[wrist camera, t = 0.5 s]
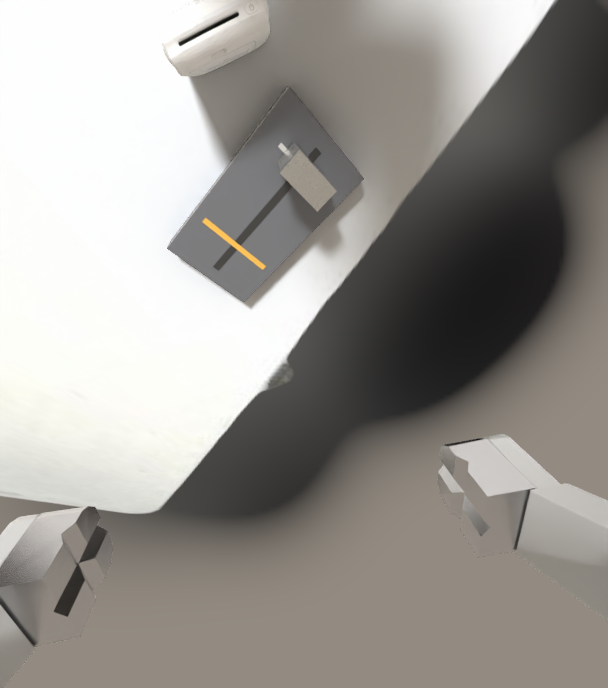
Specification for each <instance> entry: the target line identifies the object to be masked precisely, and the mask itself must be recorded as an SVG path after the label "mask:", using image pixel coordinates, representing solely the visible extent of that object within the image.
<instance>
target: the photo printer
mask: <svg viewBox="0 0 608 688" xmlns="http://www.w3.org/2000/svg"><path fill="white" fill-rule="evenodd" d="M269 19H270V13H269V7H268V4H267V1H266V0H195V1H193V2H191V3H190V4H188V5H186V6H185V7H183V8H181V9H180V10H178V11H177V12H175V13H174V14H172V15H171V16H169V17H168V18H167V19H166V20H165V21H164V22H163V23H162V24H161V25H160V26H159V28H158V31H159V35H160V38H161V40H162V46H163V49H164V52H165V55H166V57H167V58H168V60H169V61H170V63H171V64H172V65H173V66H174V67H175V68H176V70H177V71H178V73H179V74H180V75H181V76H199V75H203V74H206V73H209V72H211V71H213V70H215V69H217V68H220V67H222V66H224V65H226V64H228V63H230V62H232V61H234V60H236V59H238V58H240V57H242V56H244V55H246V54H248V53H249V52H251V51H253V50H255V49H257V48H258V47H260V46H261V45H262V44H263V43H265V42H266V41H267V38H268V36H269V34H270V32H271V30H270V24H269Z"/></svg>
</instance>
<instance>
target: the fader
mask: <svg viewBox="0 0 608 688" xmlns="http://www.w3.org/2000/svg"><path fill="white" fill-rule="evenodd" d="M278 164H279V168H280V172H279V173H280V174H281V175H282V176H283V177H284V178H285V179H286V180H287V181H288V182H289V183H290V184H291V185H292V186H293V187H294V188H295V189H296V190H297V191H298V192H299V193H300V195H301V196H302V197H303V198H304V199H305V200H306V201H307V202H308V203H309V204H310V205H311V206H312V207H313V208H314V209H315V210H316V211H317V212H318V211H319V209H320V208H321V207H322V206H323V205H324V204H325V203H326V202H327V201H328V200H329V199H330V198H331V197H332V196H333V195H334V194H335V193H336V192H337V191H336V190H335V188H334V187H333V186H332V185H331V184H330V182H329V181H328V180H327V178H326V177H325V176H324V175H323V174H322V172H321V171H320V170H319V169H318V168H317V167H316V166H315V165H314V163H313V162H312V161H311V160H310V159H309V158H308V157H307V156H306V154H305V153H304V152H303V151H302V150H301V149H300V148H299V147H298V145H297V144H296V143H295V142H293V143H292V144H291V146H290V147H289V148H288V149H287V150H286V152H285V153H284V154H283V155H282V156H281V158H280V159H279V160H278Z"/></svg>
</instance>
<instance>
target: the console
mask: <svg viewBox="0 0 608 688" xmlns="http://www.w3.org/2000/svg"><path fill="white" fill-rule="evenodd" d="M293 142H295V143H296V144H297V145H298V147H299V148H300V149H301V150H302V151H303V152H304V153H305V154H306V156H307V157H308V158H309V159H310V160H311V161H312V162H313V163H314V165H315V166H316V167H317V168H318V169H319V170H320V171H321V172H322V174H323V175H324V176H325V177H326V178H327V180H328V181H329V182H330V184H331V185H332V186H333V187H334V188H335V190H336V191H337V192H336V193H335V194H334V195H333V196H332V197H331V198H330V199H329V200H328V201H327V202H326V203H325V204H324V205H323V206H322V207H321V208H320V209H319V211H318V212H317V211H316V210H315V209H314V208H313V207H312V206H311V205H310V204H309V203H308V202H307V201H306V200H305V199H304V198H303V197H302V196H301V195H300V193H299V192H298V191H297V190H296V189H295V188H294V187H293V186H292V185H291V184H290V183H289V182H288V181H287V180H286V179H285V178H284V177H283V176H282V175H281V174H280V173H279V172H280V168H279V164H278V160H279V159H280V158H281V156H282V155H283V154H284V153H285V152H286V150H287V149H288V148H289V147H290V146H291V144H292V143H293ZM363 179H364V178H363V177H362V175H361V174H360V173H359V172H358V171H357V169H356V168H355V167H354V166H353V164H352V163H351V162H350V161H349V160H348V158H347V157H346V156H345V155H344V153H343V152H342V151H341V150H340V149H339V147H338V146H337V145H336V144H335V142H334V141H333V140H332V139H331V137H330V136H329V135H328V134H327V133H326V131H325V130H324V129H323V128H322V126H321V125H320V124H319V123H318V122H317V120H316V119H315V118H314V117H313V115H312V114H311V113H310V112H309V111H308V109H307V108H306V107H305V106H304V104H303V103H302V102H301V101H300V100H299V98H298V97H297V96H296V95H295V93H294V92H293V91H292V90H291V88H290V87H288V86H287V88H286V89H285V90H284V92H283V93H282V94H281V96H280V97H279V98H278V100H277V101H276V102H275V104H274V105H273V106H272V108H271V109H270V110H269V112H268V113H267V114H266V116H265V117H264V118H263V120H262V121H261V122H260V123H259V125H258V126H257V127H256V129H255V130H254V131H253V133H252V134H251V135H250V137H249V138H248V139H247V141H246V142H245V143H244V145H243V146H242V147H241V149H240V150H239V151H238V153H237V154H236V155H235V157H234V158H233V159H232V160H231V162H230V163H229V164H228V166H227V167H226V168H225V170H224V171H223V172H222V174H221V175H220V176H219V178H218V179H217V180H216V182H215V183H214V184H213V186H212V187H211V188H210V190H209V191H208V192H207V194H206V195H205V196H204V198H203V199H202V200H201V201H200V203H199V204H198V205H197V207H196V208H195V209H194V211H193V212H192V213H191V215H190V216H189V217H188V219H187V220H186V221H185V223H184V224H183V225H182V227H181V228H180V229H179V231H178V232H177V233H176V235H175V236H174V237H173V238H172V240H171V241H170V243H169V245H168V247H167V249H168V250H170V251H171V252H173V253H174V254H175V255H177V256H178V257H180V258H181V259H183V260H184V261H185V262H187V263H188V264H190V265H191V266H193V267H194V268H195V269H197V270H198V271H200V272H201V273H203V274H204V275H205V276H207V277H208V278H210V279H211V280H213V281H214V282H215V283H217V284H218V285H220V286H221V287H223V288H224V289H225V290H227V291H228V292H230V293H231V294H233V295H234V296H235V297H237V298H238V299H240V300H241V301H243V302H245V301H246V300H247V299H248V298H249V297H250V296H251V295H252V294H253V293H254V291H255V290H256V289H257V288H258V287H259V286H260V285H261V284H262V283H263V282H264V281H265V280H266V279H267V278H268V277H269V276H270V275H271V274H272V273H273V272H274V271H275V270H276V269H277V268H278V267H279V266H280V265H281V264H282V263H283V262H284V261H285V260H286V259H287V258H288V256H289V255H290V254H291V253H292V252H293V251H294V250H295V249H296V248H297V247H298V246H299V245H300V244H301V243H302V242H303V241H304V240H305V239H306V238H307V237H308V236H309V235H310V234H311V233H312V232H313V231H314V230H315V229H316V228H317V227H318V226H319V225H320V224H321V223H322V222H323V220H324V219H325V218H326V217H327V216H328V215H329V214H330V213H331V212H332V211H333V210H334V209H335V208H336V207H337V206H338V205H339V204H340V203H341V202H342V201H343V200H344V199H345V198H346V197H347V196H348V195H349V194H350V193H351V192H352V191H353V190H354V189H355V188H356V187H357V186H358V184H359V183H360V182H361V181H362V180H363Z"/></svg>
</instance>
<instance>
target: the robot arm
mask: <svg viewBox="0 0 608 688" xmlns="http://www.w3.org/2000/svg"><path fill="white" fill-rule="evenodd" d="M439 458H440V460H441V461H442V463H443V464H444V465H443V467H442V468H441V469H440V470H439V472H438V486H439V490H440V494H441V497H442V499H443V501H444V504H445V505H446V507H447V509H448V510H449V512H450V513H451V514H453V515H455V516H456V517H458V518H459V519H461V531H462V533H463V535H464V536H465V538H466V539H467V541H468V543H469V544H470V546H471V547H472V549H473V551H474V552H475V554H476V555H477V557H485V556H490V555H497V554H503V553H509V552H515V551H516V554H517V555H518V556H520V557H521V558H522V559H524V560H525V561H527V562H528V563H529V564H531V565H532V566H533V567H535V568H536V569H537V570H539V571H540V572H541V573H543V574H544V575H546V576H547V577H548V578H550V579H551V580H552V581H554V582H555V583H556V584H558V585H559V586H560V587H562V588H563V589H564V590H566V591H567V592H568V593H570V594H571V595H573V596H574V597H575V598H577V599H578V600H579V601H581V602H582V603H583V604H585V605H586V606H588V607H589V608H590V609H592V610H593V611H594V612H596V613H597V614H598V615H600V616H601V617H603V618H604V619H605V620H607V621H608V501H607V500H605V499H602V498H600V497H598V496H595V495H593V494H591V493H588V492H586V491H584V490H582V489H579V488H577V487H575V486H572V485H570V484H560V483H559V482H557V481H556V480H555V479H554V478H553V477H552V476H551V475H550V474H549V473H548V472H547V471H545V470H544V469H543V468H542V467H541V466H540V465H539V464H538V463H537V462H536V461H535V460H534V459H533V458H531V457H530V456H529V455H528V454H527V453H526V452H525V451H524V450H523V449H522V448H521V447H519V445H517V444H516V443H515V442H514V441H513V440H512V439H511V438H510V437H508V436H507V435H504V434H499V435H494V436H488V437H483V438H478V439H473V440H467V441H462V442H456V443H451V444H445V445H442V447H441V449H440V455H439ZM100 518H101V517H100V515H99V513H98V511H97V509H96V508H95V507H90V506H87V507H80V508H75V509H67V510H61V511H54V512H47V513H43V514H36V515H29V516H23V517H19V518H17V519H16V520H14V521H12V522H11V523H10V524H9V525H8V526H7V528H6V529H5V530H4V531H3V533H2V534H1V535H0V688H4V686H5V685H6V684H7V683H8V682H9V680H10V679H11V678H12V677H13V676H14V675H15V673H16V672H17V671H18V670H19V669H20V667H21V666H22V665H23V664H24V663H25V661H27V659H28V658H29V657H30V656H31V655H32V654H33V652H34V651H35V647H38V646H42V645H46V644H51V643H55V642H59V641H64V640H68V639H72V638H77V637H80V636H81V634H82V632H83V630H84V627H85V625H86V623H87V620H88V618H89V615H90V613H91V611H92V608H93V606H94V604H95V601H96V597H95V594H94V589H95V587H97V585H98V584H99V583H100V582H101V581H102V580H103V579H104V578H105V577H106V575H107V572H108V569H109V567H110V564H111V559H112V552H113V546H112V539H111V537H110V535H109V532H108V531H107V530H105V529H104V528H102V527H100V526H98V523H99V520H100Z"/></svg>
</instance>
